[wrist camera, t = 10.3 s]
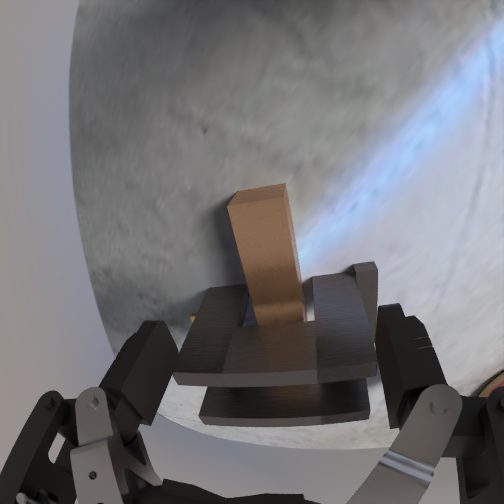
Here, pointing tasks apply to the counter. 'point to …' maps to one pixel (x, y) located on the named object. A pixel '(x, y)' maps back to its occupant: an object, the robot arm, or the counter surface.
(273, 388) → the dark two-tier wooden rack
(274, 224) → the tall wooden block
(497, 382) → the donut
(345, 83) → the counter surface
